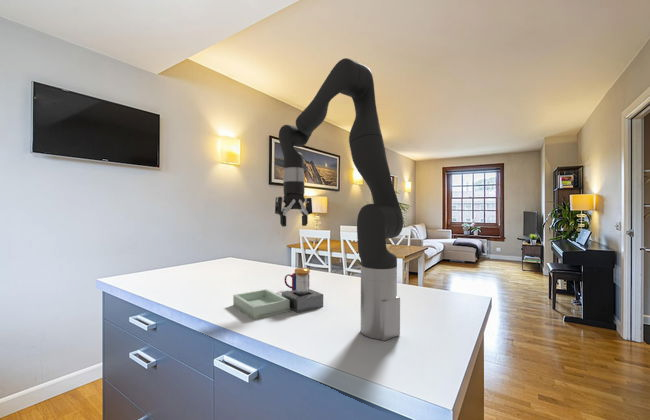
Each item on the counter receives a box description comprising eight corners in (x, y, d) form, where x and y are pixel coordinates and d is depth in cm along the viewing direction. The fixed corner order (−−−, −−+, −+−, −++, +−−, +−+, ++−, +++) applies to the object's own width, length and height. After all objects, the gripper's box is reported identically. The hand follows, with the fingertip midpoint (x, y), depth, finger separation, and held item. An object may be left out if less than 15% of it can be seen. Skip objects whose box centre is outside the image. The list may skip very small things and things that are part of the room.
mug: (304, 294, 111) (304, 276, 111) (281, 291, 116) (281, 274, 116) (312, 290, 118) (312, 273, 118) (290, 287, 122) (290, 271, 122)
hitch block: (323, 306, 98) (323, 294, 98) (297, 312, 92) (297, 299, 92) (306, 299, 106) (306, 287, 106) (281, 304, 100) (281, 292, 100)
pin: (312, 306, 99) (312, 269, 99) (299, 309, 95) (299, 271, 95) (304, 302, 102) (304, 267, 102) (291, 305, 99) (291, 268, 99)
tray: (289, 310, 94) (289, 300, 94) (253, 319, 86) (253, 307, 86) (266, 298, 106) (266, 289, 106) (233, 305, 99) (233, 294, 99)
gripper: (281, 179, 101) (282, 227, 101) (315, 181, 110) (316, 225, 109) (271, 181, 107) (271, 226, 107) (304, 183, 116) (305, 225, 115)
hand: (294, 226), depth 108 cm, fingers open, 8 cm apart
